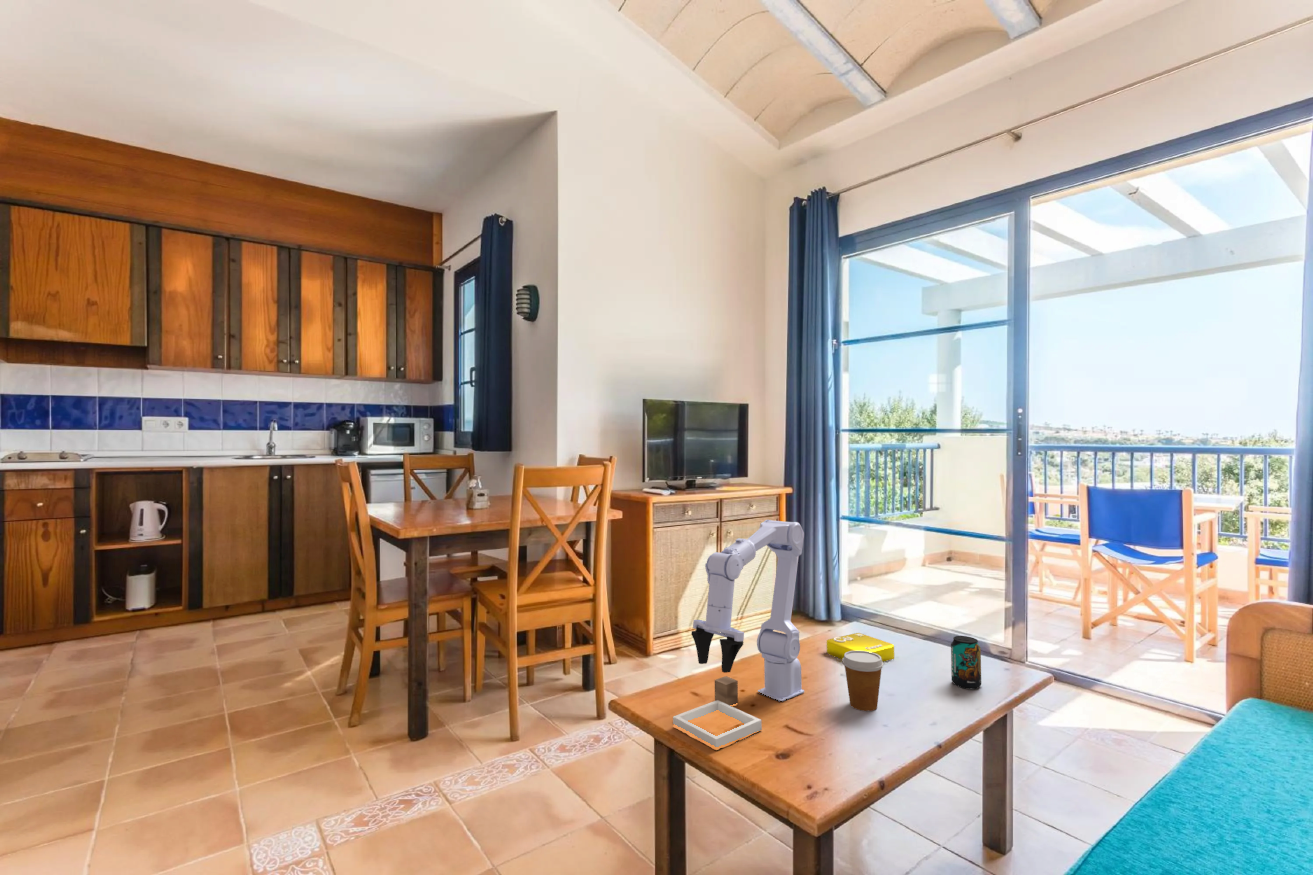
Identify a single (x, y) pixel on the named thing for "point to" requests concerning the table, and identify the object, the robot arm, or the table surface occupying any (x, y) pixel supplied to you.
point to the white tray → (748, 728)
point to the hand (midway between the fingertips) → (714, 667)
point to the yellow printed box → (859, 646)
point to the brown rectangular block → (726, 690)
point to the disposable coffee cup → (863, 678)
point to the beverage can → (966, 662)
